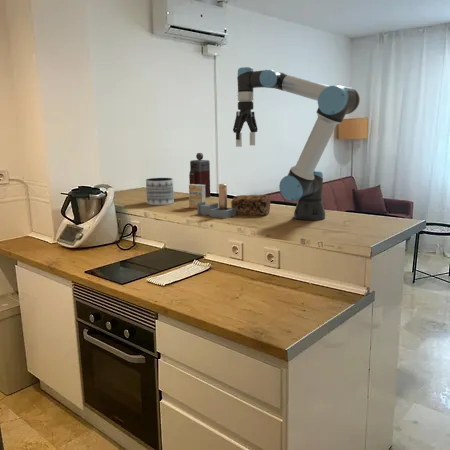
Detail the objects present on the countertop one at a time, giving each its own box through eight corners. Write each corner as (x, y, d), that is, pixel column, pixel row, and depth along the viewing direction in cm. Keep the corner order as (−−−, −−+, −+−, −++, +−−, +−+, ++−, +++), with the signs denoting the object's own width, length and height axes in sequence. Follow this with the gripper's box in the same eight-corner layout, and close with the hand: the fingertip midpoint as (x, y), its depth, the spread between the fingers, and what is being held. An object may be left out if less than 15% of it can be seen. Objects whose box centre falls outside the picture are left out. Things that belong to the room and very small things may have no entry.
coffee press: (188, 197, 298) (186, 153, 292) (200, 195, 306) (199, 152, 300) (198, 198, 292) (196, 153, 286) (210, 196, 300) (209, 152, 295)
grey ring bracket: (205, 211, 247) (205, 201, 246) (236, 215, 237) (236, 203, 236) (195, 215, 239) (195, 203, 238) (226, 218, 230) (226, 206, 228)
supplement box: (188, 208, 259) (188, 184, 257) (192, 206, 264) (192, 183, 261) (202, 209, 256) (201, 185, 254) (206, 207, 261) (205, 184, 258)
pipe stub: (221, 214, 239) (221, 183, 235) (228, 215, 237) (228, 184, 233) (217, 216, 235) (216, 184, 232) (224, 216, 233) (223, 185, 230)
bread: (270, 212, 243) (270, 193, 241) (266, 216, 233) (266, 196, 231) (236, 211, 249) (236, 192, 247) (230, 215, 239) (230, 195, 237)
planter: (179, 202, 280) (178, 178, 277) (162, 206, 267) (161, 181, 264) (158, 200, 288) (157, 177, 285) (141, 204, 275) (140, 180, 272)
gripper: (251, 102, 236) (251, 144, 241) (225, 100, 216) (225, 147, 220) (264, 101, 232) (264, 144, 237) (239, 100, 212) (239, 147, 216)
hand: (245, 146), depth 229 cm, fingers open, 13 cm apart
